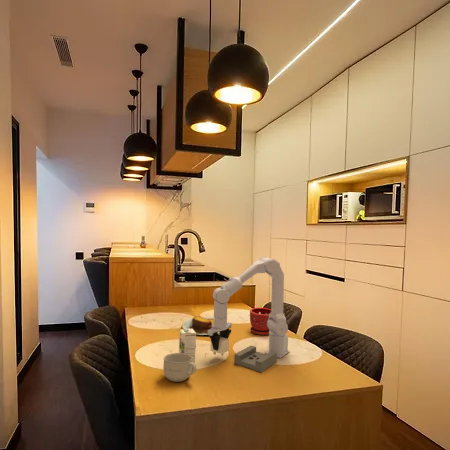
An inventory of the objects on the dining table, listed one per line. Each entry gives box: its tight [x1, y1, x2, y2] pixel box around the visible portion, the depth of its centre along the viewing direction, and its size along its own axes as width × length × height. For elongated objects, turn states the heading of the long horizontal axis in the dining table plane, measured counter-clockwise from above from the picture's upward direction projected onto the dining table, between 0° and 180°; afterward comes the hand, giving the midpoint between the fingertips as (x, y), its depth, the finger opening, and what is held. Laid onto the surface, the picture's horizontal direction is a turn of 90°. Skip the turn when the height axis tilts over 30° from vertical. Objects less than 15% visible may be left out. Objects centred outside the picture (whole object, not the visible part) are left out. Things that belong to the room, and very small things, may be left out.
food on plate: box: [181, 316, 220, 336], centre depth 185 cm, size 26×26×7 cm
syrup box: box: [178, 328, 197, 369], centre depth 136 cm, size 6×6×14 cm
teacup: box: [163, 352, 197, 383], centre depth 125 cm, size 14×11×8 cm
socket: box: [233, 345, 278, 373], centre depth 141 cm, size 13×13×4 cm
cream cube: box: [210, 337, 230, 356], centre depth 144 cm, size 5×6×6 cm
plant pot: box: [249, 307, 271, 336], centre depth 181 cm, size 13×13×12 cm
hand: (219, 347), depth 144 cm, fingers closed on cream cube, 5 cm apart
